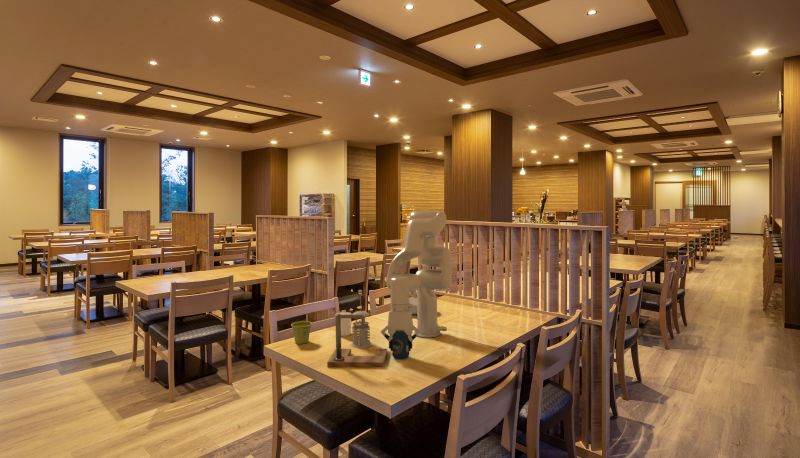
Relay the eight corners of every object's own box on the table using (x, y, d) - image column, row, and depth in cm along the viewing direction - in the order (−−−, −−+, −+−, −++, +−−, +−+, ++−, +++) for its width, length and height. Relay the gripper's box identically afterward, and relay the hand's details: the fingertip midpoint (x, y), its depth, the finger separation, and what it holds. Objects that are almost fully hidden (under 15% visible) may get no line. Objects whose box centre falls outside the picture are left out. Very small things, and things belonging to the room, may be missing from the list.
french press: (374, 341, 200) (373, 287, 198) (367, 350, 188) (366, 292, 187) (354, 340, 202) (353, 287, 200) (346, 348, 190) (344, 292, 189)
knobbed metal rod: (366, 357, 173) (365, 313, 172) (364, 361, 169) (363, 315, 168) (335, 357, 173) (333, 313, 173) (332, 361, 169) (331, 315, 169)
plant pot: (316, 340, 204) (315, 321, 203) (305, 346, 195) (304, 327, 194) (298, 338, 207) (298, 320, 206) (287, 344, 198) (287, 325, 197)
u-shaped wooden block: (387, 353, 183) (387, 348, 183) (383, 367, 167) (383, 362, 167) (335, 353, 185) (335, 348, 185) (327, 367, 169) (327, 362, 169)
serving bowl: (432, 317, 243) (432, 305, 243) (395, 317, 243) (395, 305, 243) (430, 308, 264) (430, 297, 263) (396, 308, 264) (395, 297, 264)
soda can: (389, 358, 177) (388, 329, 176) (398, 353, 183) (397, 325, 182) (403, 361, 173) (403, 332, 173) (412, 356, 179) (412, 327, 178)
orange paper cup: (348, 336, 208) (348, 316, 208) (333, 336, 210) (332, 315, 209) (353, 332, 216) (353, 312, 215) (338, 331, 217) (338, 311, 217)
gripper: (421, 305, 180) (421, 347, 181) (379, 305, 181) (380, 347, 182) (421, 309, 173) (421, 353, 173) (377, 309, 174) (378, 353, 175)
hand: (400, 349), depth 178 cm, fingers closed on soda can, 6 cm apart
